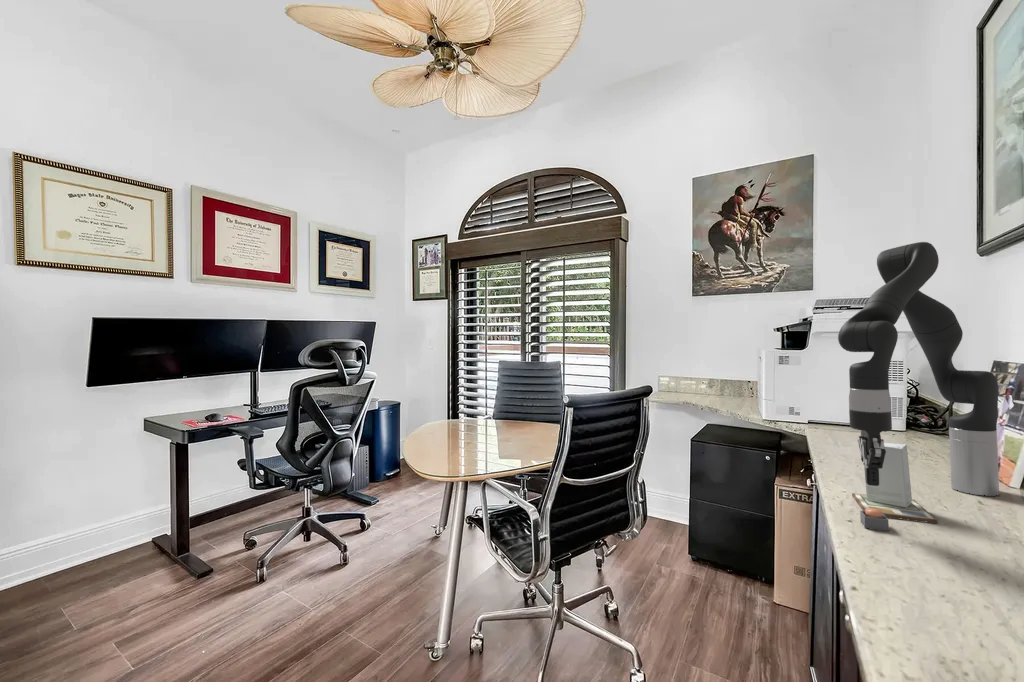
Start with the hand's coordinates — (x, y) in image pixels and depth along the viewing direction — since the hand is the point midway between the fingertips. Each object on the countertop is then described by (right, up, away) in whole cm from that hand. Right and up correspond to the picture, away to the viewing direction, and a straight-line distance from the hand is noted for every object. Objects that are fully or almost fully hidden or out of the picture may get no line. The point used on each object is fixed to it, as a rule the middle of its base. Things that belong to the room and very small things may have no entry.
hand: (872, 484), depth 101 cm
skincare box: (+14, -9, +12) cm, 21 cm away
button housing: (0, -10, 0) cm, 10 cm away
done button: (0, -8, 0) cm, 8 cm away
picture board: (+13, -9, +10) cm, 19 cm away
